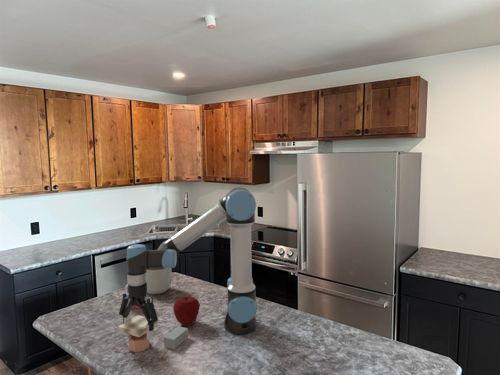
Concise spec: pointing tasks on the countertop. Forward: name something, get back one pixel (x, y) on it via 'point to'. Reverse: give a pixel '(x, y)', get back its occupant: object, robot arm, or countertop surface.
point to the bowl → (138, 343)
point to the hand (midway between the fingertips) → (138, 334)
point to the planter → (158, 280)
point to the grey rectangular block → (175, 337)
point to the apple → (186, 310)
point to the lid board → (135, 326)
